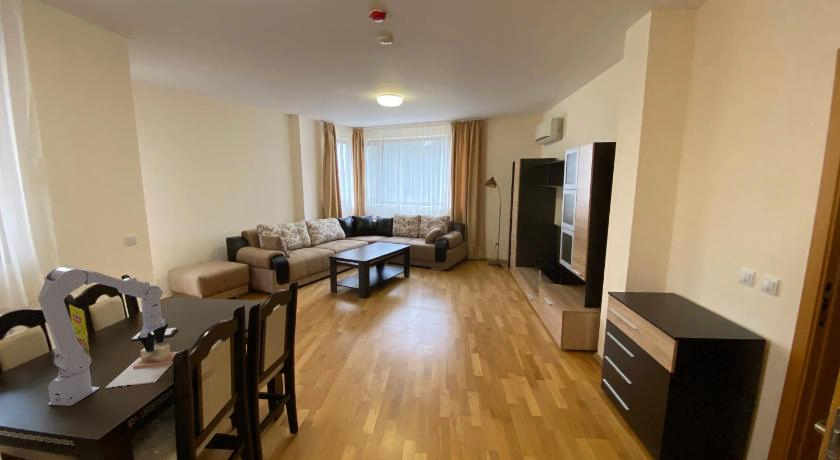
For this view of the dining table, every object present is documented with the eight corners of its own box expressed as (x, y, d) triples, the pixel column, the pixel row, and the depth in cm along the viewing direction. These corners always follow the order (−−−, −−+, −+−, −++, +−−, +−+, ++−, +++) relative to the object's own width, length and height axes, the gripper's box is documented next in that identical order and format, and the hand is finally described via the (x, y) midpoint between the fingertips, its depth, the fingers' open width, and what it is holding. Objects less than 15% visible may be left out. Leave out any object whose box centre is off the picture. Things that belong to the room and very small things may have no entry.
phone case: (130, 342, 151) (171, 337, 155) (129, 339, 150) (170, 334, 155) (139, 334, 159) (178, 330, 164) (139, 331, 159) (178, 327, 164)
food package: (73, 348, 143) (67, 304, 141) (76, 347, 144) (71, 303, 142) (88, 357, 136) (82, 311, 134) (91, 356, 137) (85, 310, 135)
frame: (178, 354, 139) (178, 351, 139) (168, 364, 131) (168, 362, 131) (145, 357, 136) (144, 355, 136) (133, 368, 128) (132, 365, 128)
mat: (155, 382, 120) (155, 381, 120) (105, 388, 116) (105, 387, 116) (180, 354, 140) (180, 353, 140) (139, 358, 136) (138, 357, 136)
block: (141, 365, 130) (140, 351, 129) (147, 359, 134) (146, 345, 134) (165, 362, 132) (164, 348, 131) (170, 357, 137) (169, 343, 136)
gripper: (154, 320, 125) (157, 354, 126) (172, 307, 139) (174, 337, 140) (132, 322, 123) (135, 356, 125) (152, 308, 137) (155, 339, 139)
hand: (155, 346), depth 132 cm, fingers open, 7 cm apart
